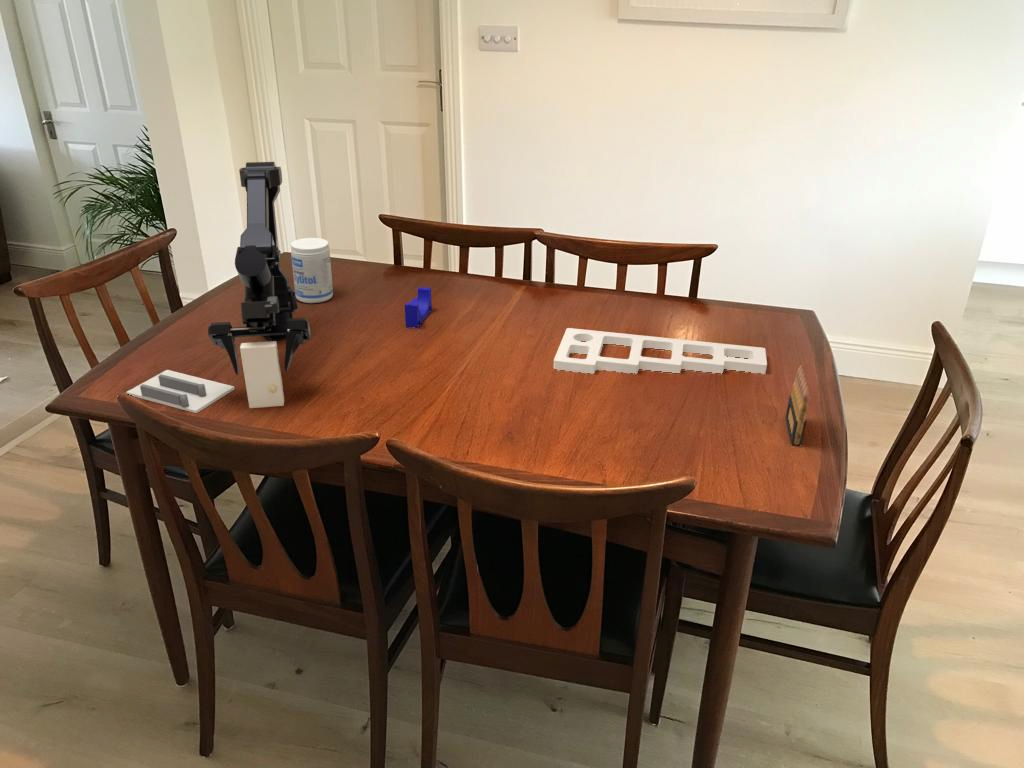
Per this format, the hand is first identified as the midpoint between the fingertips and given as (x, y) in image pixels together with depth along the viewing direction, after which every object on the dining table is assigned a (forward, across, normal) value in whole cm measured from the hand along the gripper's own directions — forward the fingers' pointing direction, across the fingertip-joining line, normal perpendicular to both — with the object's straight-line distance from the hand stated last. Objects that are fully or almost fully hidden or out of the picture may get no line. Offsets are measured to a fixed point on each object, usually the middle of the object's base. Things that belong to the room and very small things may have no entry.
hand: (261, 372), depth 157 cm
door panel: (+5, 0, +6) cm, 7 cm away
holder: (+1, +84, +10) cm, 84 cm away
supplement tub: (-35, +8, +46) cm, 58 cm away
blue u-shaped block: (-23, +32, +33) cm, 52 cm away
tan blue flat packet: (+24, +99, -12) cm, 103 cm away
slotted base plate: (-1, -18, +11) cm, 21 cm away
